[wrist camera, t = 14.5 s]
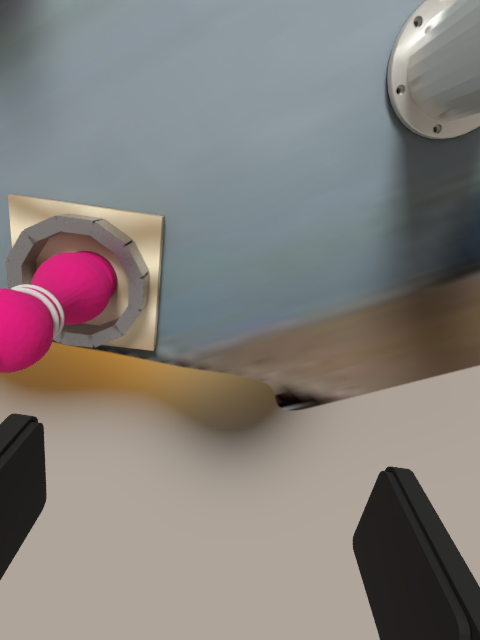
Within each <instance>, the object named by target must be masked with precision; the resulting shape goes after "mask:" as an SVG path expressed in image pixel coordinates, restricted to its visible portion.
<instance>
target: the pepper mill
mask: <svg viewBox="0 0 480 640" xmlns="http://www.w3.org/2000/svg"><path fill="white" fill-rule="evenodd" d="M116 287H117V276H116V272H115V270H114V268H113V266H112V265H111V263H110V262H109V261H108V260H107V259H106V258H104V257H103V256H101V255H100V254H98V253H95V252H92V251H79V252H76V253H73V252H67V253H60V254H57V255H54V256H53V257H51V258H49V259H48V260H46V261H45V262H43V263H42V264H41V265H40V266H39V268H38V269H37V271H36V273H35V274H34V276H33V279H32V284H31V285H30V284H24V285H18V286H15V287H12V288H11V289H0V372H3V373H5V372H7V373H10V372H15V371H19V370H22V369H25V368H27V367H29V366H31V365H33V364H34V363H36V362H37V361H39V360H40V359H41V358H42V357H43V356H44V355H45V354H46V352H47V351H48V350H49V348H50V346H51V343H52V340H53V339H54V338H55V337H57V336H58V335H59V333H60V332H61V330H62V328H63V325H64V324H68V325H75V324H81V323H85V322H87V321H90V320H92V319H94V318H95V317H97V316H98V315H99V314H101V313H102V312H103V311H104V309H105V308H106V306H107V305H108V302H109V300H110V298H111V297H112V296H113V294H114V292H115V290H116Z"/></svg>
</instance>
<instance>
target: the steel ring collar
mask: <svg viewBox="0 0 480 640" xmlns="http://www.w3.org/2000/svg"><path fill="white" fill-rule="evenodd" d="M63 232H68V233H75V234H83V235H90V236H91V237H93V238H94V239H96V240H97V241H98V242H100V243H101V244H103V245H104V246H105V247H107V248H108V249H110V250H111V251H112V252H114V253H115V254H116V256H117V258H118V260H119V261H120V263H121V265H122V267H123V269H124V271H125V273H126V275H127V277H128V279H129V294H128V307H127V308H126V309H125V311H124V312H123V314H122V315H121V317H120V318H117V319H115V320H112V321H110V322H107V323H105V324H102V325H100V326H99V325H91V324H83V323H81V324H75V325H68V324H64V325H63V328H62V330H61V332H60V333H59V335H58V336H57V337H55V338H54V339H53V340H54V341H56V342H58V343H60V342H61V344H65V345H73V346H82V347H90V348H93V347H98V346H100V345H103V344H105V343H108V342H110V341H113V340H115V339H118V338H120V337H123V335H125V334H126V332H127V331H128V329H129V328H130V327H131V325H132V324H133V323H134V321H135V320H136V318H137V317H138V316H139V314H140V313H141V312H142V310H143V309H144V307H145V306H146V305H147V302H148V293H149V275H150V272H148V271H149V269H148V267H147V265H146V263H145V261H144V259H143V257H142V255H141V253H140V251H139V249H138V247H137V245H136V243H135V241H134V242H132V240H133V239H132V238H130V237H129V236H128V235H126V234H125V233H123V232H122V231H121V230H119V229H118V228H117V227H115V226H114V225H112V224H111V223H110V222H108V221H107V220H106V219H104V220H103V218H98V217H91V216H83V215H76V214H63V215H56V216H53V217H50V218H48V219H46V220H44V221H42V222H39V223H37V224H35V225H33V226H30V227H28V228H26V229H24V231H22V232H21V234H20V235H19V237H18V239H17V241H16V242H15V244H14V246H13V248H12V249H11V251H10V253H9V255H8V257H7V258H6V259H8V260H7V261H6V268H7V279H8V289H11V288H12V287H15V286H18V285H24V284H30V285H31V284H32V279H33V276H34V274H35V273H36V271H37V266H36V259H37V258H38V256H39V254H40V253H41V251H42V249H43V248H44V246H45V244H46V242H47V241H48V239H49V238H51V237H54V236H56V235H58V234H60V233H63ZM131 242H132V243H131Z"/></svg>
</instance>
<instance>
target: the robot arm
mask: <svg viewBox="0 0 480 640" xmlns="http://www.w3.org/2000/svg"><path fill="white" fill-rule="evenodd" d="M413 23H415V24H416V27H415V26H414V24H413ZM387 83H388V93H389V97H390V101H391V104H392V107H393V109H394V111H395V113H396V115H397V117H398V118H399V119H400V120H401V122H402V123H403V124H404V125H405V126H406V127H407V128H408V129H410V130H411V131H412V132H414V133H416V134H418V135H420V136H422V137H426V138H430V139H447V138H453V137H457V136H460V135H463V134H466V133H468V132H470V131H472V130H474V129H476V128H478V127H479V126H480V0H426V1H425V2H424V3H423V4H422V5H421V6H420V7H419V8H418V9H417V10H416V11H415V12H414V13H413V14H412V15H411V16H410V18H409V19H408V20H407V21H406V23H405V24H404V26H403V28H402V29H401V31H400V33H399V34H398V36H397V38H396V41H395V43H394V46H393V48H392V51H391V55H390V60H389V64H388V75H387ZM396 89H397V90H399V94H397V92H396ZM433 128H434V129H435V131H433ZM45 502H46V474H45V450H44V428H43V425H42V423H38V419H37V418H36V417H34V416H27V415H20V414H11V415H9V416H8V417H7V418H6V419H5V420H4V421H3V422H2V423H1V424H0V580H1V578H2V576H3V575H4V573H5V571H6V570H7V568H8V566H9V565H10V563H11V561H12V560H13V558H14V557H15V555H16V553H17V552H18V550H19V548H20V547H21V545H22V543H23V542H24V540H25V538H26V537H27V535H28V533H29V532H30V530H31V528H32V526H33V525H34V523H35V522H36V520H37V518H38V517H39V515H40V513H41V512H42V510H43V507H44V505H45ZM353 550H354V553H355V556H356V560H357V563H358V567H359V570H360V573H361V577H362V580H363V583H364V586H365V590H366V593H367V596H368V600H369V604H370V607H371V610H372V614H373V617H374V620H375V624H376V627H377V630H378V634H379V637H380V640H480V587H479V586H478V584H477V582H476V580H475V579H474V577H473V575H472V573H471V572H470V570H469V568H468V566H467V565H466V563H465V561H464V559H463V558H462V556H461V554H460V553H459V551H458V549H457V548H456V546H455V544H454V542H453V540H452V539H451V537H450V535H449V534H448V532H447V530H446V529H445V527H444V525H443V523H442V522H441V520H440V518H439V516H438V515H437V513H436V511H435V510H434V508H433V506H432V504H431V503H430V501H429V499H428V497H427V496H426V494H425V492H424V491H423V489H422V487H421V485H420V484H419V482H418V480H417V479H416V477H415V475H414V473H413V472H412V471H411V470H409V469H404V468H397V467H387V468H386V470H385V471H381V472H380V474H379V475H378V478H377V480H376V483H375V485H374V488H373V490H372V492H371V495H370V497H369V500H368V502H367V504H366V507H365V509H364V512H363V514H362V516H361V519H360V521H359V524H358V526H357V529H356V531H355V533H354V536H353Z"/></svg>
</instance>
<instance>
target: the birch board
mask: <svg viewBox="0 0 480 640" xmlns="http://www.w3.org/2000/svg"><path fill="white" fill-rule="evenodd" d="M8 201H9V214H10V227H11V239H12V248H13V246H14V244H15V242H16V241H17V239H18V237H19V235H20V234H21V232H22V231H24V229H26V228H28V227H30V226H33V225H35V224H37V223H39V222H42V221H44V220H46V219H48V218H50V217H53V216H56V215H63V214H76V215H83V216H91V217H98V218H103V220H104V219H106V220H107V221H108V222H110V223H111V224H112V225H114V226H115V227H117V228H118V229H119V230H121V231H122V232H123V233H125V234H126V235H128V236H129V237H130V238H132V239H133V240H132V242H134V241H135V243H136V245H137V247H138V249H139V251H140V253H141V255H142V257H143V259H144V261H145V263H146V265H147V267H148V269H149V271H148V272H150V275H149V293H148V302H147V305H146V306H145V307H144V309H143V310H142V312H141V313H140V314H139V316H138V317H137V318H136V320H135V321H134V323H133V324H132V325H131V327H130V328H129V329H128V331H127V332H126V334H125V335H123V337H120V338H118V339H115V340H113V341H110V342H108V343H105V344H103V345H108V346H116V347H125V348H133V349H142V350H151V351H154V349H155V347H156V338H157V323H158V308H159V292H160V277H161V262H162V247H163V232H164V217H165V216H161V215H154V214H147V213H140V212H133V211H126V210H119V209H112V208H105V207H98V206H91V205H84V204H77V203H70V202H63V201H56V200H50V199H43V198H36V197H29V196H22V195H8ZM132 242H131V243H132ZM79 251H92V252H95V253H98V254H100V255H101V256H103V257H104V258H106V259H107V260H108V261H109V262H110V263H111V265H112V266H113V268H114V270H115V272H116V276H117V287H116V290H115V292H114V294H113V296H112V297H111V298H110V300H109V302H108V305H107V306H106V308H105V309H104V311H103V312H102V313H101V314H99V315H98V316H97V317H95V318H94V319H92V320H90V321H87V322H85V323H83V324H91V325H99V326H100V325H102V324H105V323H107V322H110V321H112V320H115V319H117V318H120V317H121V315H122V314H123V312H124V311H125V309H126V308H127V307H128V294H129V279H128V277H127V275H126V273H125V271H124V269H123V267H122V265H121V263H120V261H119V260H118V258H117V256H116V254H115V253H114V252H112V251H111V250H110V249H108V248H107V247H105V246H104V245H103V244H101V243H100V242H98V241H97V240H96V239H94V238H93V237H91V236H90V235H83V234H75V233H68V232H63V233H60V234H58V235H56V236H54V237H51V238H49V239H48V241H47V242H46V244H45V246H44V248H43V249H42V251H41V253H40V254H39V256H38V258H37V259H36V266H37V269H38V268H39V266H40V265H41V264H42V263H43V262H45V261H46V260H48V259H49V258H51V257H53V256H54V255H57V254H60V253H67V252H73V253H76V252H79Z"/></svg>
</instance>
